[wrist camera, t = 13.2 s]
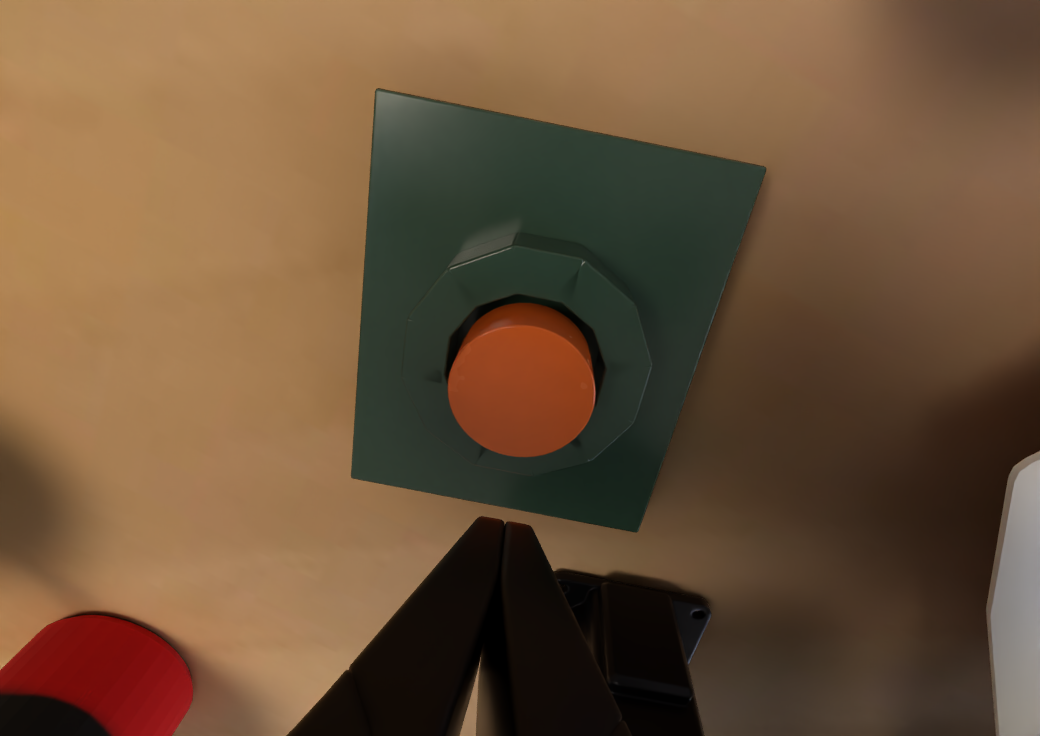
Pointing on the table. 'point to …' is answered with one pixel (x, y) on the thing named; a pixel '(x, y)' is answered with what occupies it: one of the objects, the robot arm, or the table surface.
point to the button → (522, 381)
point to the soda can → (94, 682)
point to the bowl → (1017, 606)
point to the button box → (536, 294)
